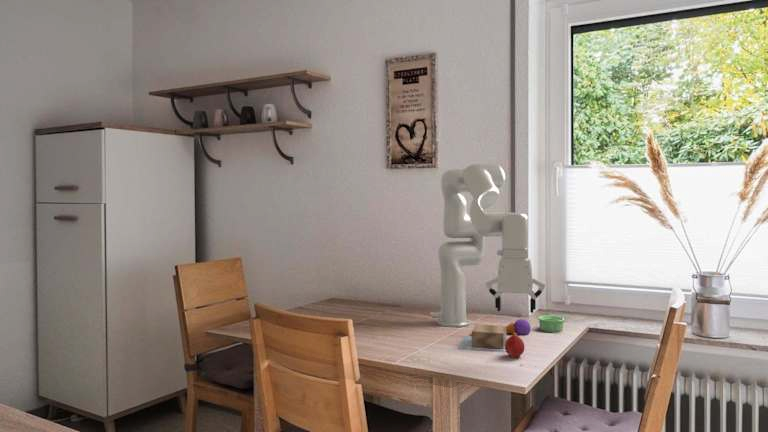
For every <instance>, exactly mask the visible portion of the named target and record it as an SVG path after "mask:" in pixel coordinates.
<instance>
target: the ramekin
mask: <svg viewBox="0 0 768 432" xmlns="http://www.w3.org/2000/svg"><path fill="white" fill-rule="evenodd" d="M564 321H565V318H564V317H562V316H558V315H541V316H539V317H538V323H539V329H540V331H542V332H547V333H561V332H562V331H563V329H564V323H565V322H564Z"/></svg>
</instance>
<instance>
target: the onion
mask: <svg viewBox="0 0 768 432" xmlns="http://www.w3.org/2000/svg"><path fill="white" fill-rule="evenodd" d="M506 339H507V340H506V343H505V350H506V352H505V353H507V355H509V356H510V357H511V358H519V357H520V356H521V355H522V354H523V353H524V352H525V343H524V341H523V340H522V338H521V337H519V335H518V334H516V333H513V334H511V335H510V336H509V337H508V338H506Z"/></svg>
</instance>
